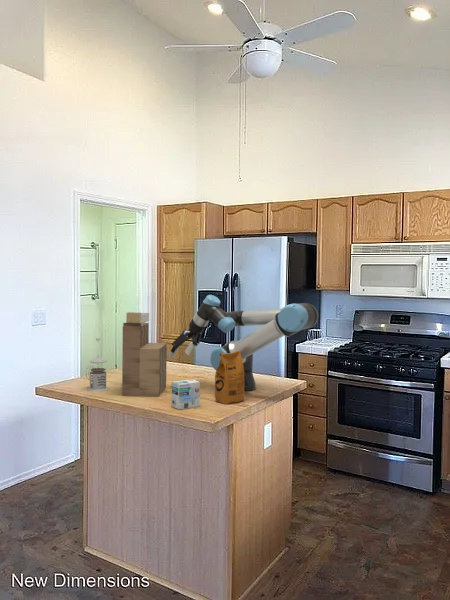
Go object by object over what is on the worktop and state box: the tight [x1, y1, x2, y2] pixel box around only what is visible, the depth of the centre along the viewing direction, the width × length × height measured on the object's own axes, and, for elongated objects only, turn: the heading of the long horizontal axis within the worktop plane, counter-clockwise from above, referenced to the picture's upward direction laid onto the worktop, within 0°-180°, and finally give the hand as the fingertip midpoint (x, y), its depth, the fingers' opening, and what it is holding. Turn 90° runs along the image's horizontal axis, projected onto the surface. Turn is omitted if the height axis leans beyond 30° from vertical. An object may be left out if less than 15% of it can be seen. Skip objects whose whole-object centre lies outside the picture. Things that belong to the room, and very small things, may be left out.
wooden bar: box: [125, 311, 150, 324], centre depth 254 cm, size 28×6×6 cm, turn 177°
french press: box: [85, 337, 109, 392], centre depth 250 cm, size 10×12×25 cm
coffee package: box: [214, 351, 245, 405], centre depth 231 cm, size 10×12×22 cm
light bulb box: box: [171, 378, 201, 410], centre depth 221 cm, size 11×7×11 cm, turn 126°
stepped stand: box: [121, 322, 168, 398], centre depth 247 cm, size 20×17×34 cm
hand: (178, 355), depth 263 cm, fingers open, 13 cm apart
